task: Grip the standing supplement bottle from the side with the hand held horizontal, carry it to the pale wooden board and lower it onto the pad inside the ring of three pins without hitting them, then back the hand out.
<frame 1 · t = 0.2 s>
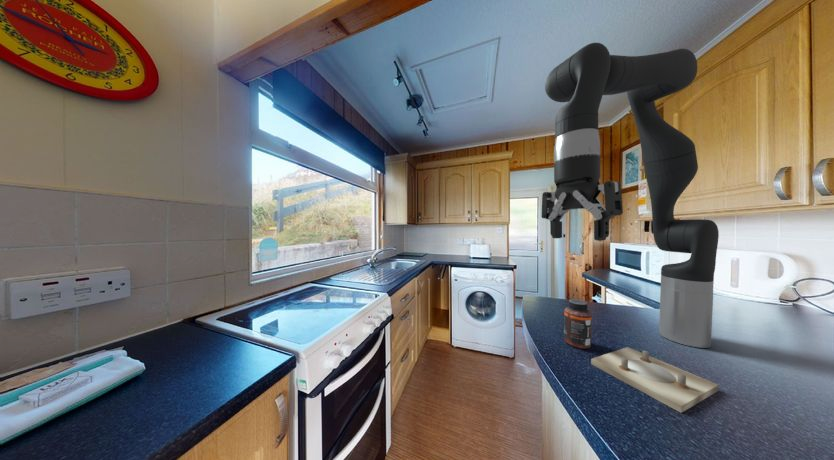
hand: (576, 239, 45), 29 cm above the countertop, tool pointing down, fingers open, 8 cm apart
supplement bottle: (577, 344, 59), on the countertop
pin board: (649, 376, 47), on the countertop
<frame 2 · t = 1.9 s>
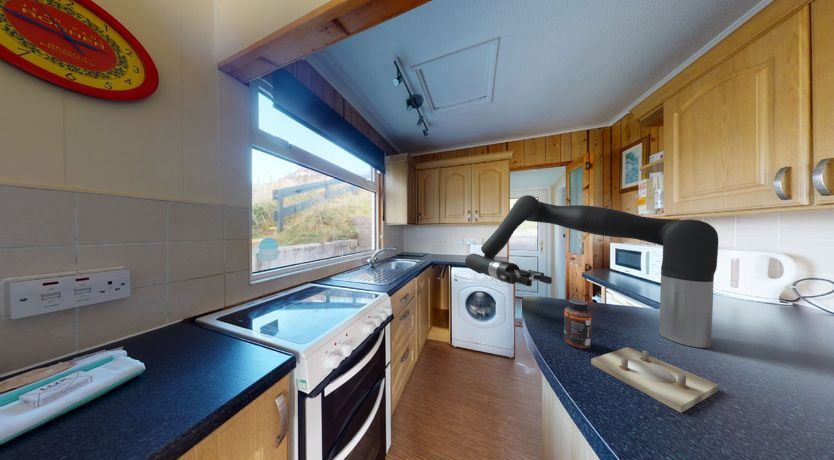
hand: (541, 281, 69), 14 cm above the countertop, tool horizontal, fingers open, 8 cm apart
nothing on the countertop moved.
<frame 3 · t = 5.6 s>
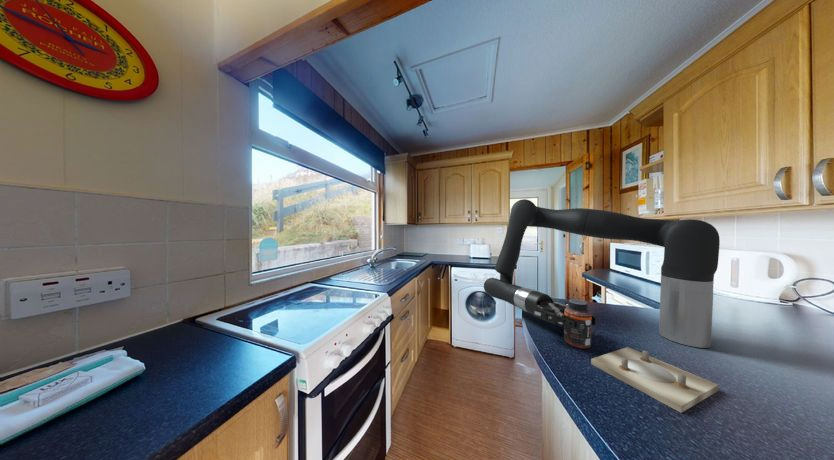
hand: (587, 323, 57), 7 cm above the countertop, tool horizontal, fingers closed on supplement bottle, 6 cm apart
supplement bottle: (577, 344, 59), on the countertop, touching gripper
when the fingers open (8 cm above the countertop, at t = 11.3 s): supplement bottle stays where it is, resting on pin board.
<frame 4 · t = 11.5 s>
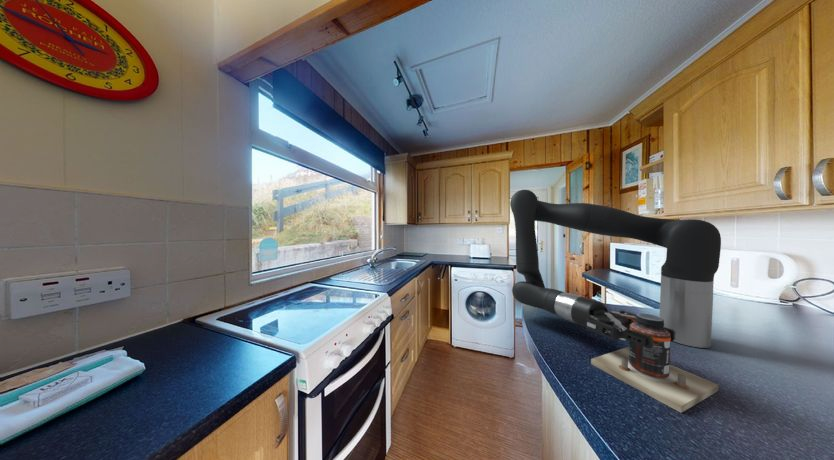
hand: (663, 339, 44), 9 cm above the countertop, tool horizontal, fingers open, 8 cm apart
supplement bottle: (648, 370, 47), point 1 cm above the countertop, touching pin board
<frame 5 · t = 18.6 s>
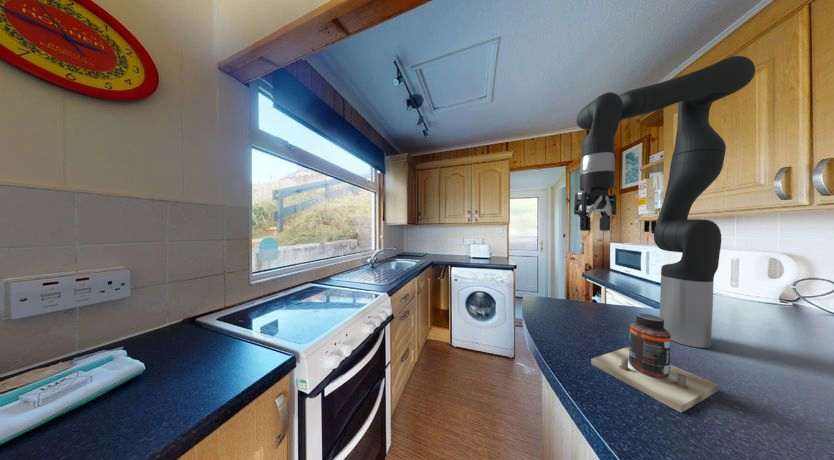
hand: (595, 230, 62), 30 cm above the countertop, tool pointing down, fingers open, 8 cm apart
nothing on the countertop moved.
at the end: supplement bottle 0.1 cm off-centre on the pin board, point 1.1 cm above the pin board's base; supplement bottle tilted 0°; the gripper is holding nothing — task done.
